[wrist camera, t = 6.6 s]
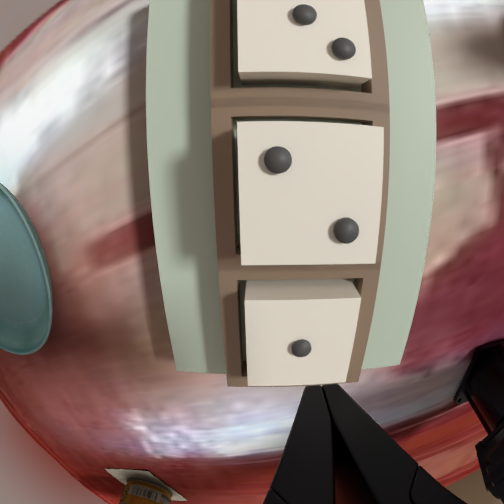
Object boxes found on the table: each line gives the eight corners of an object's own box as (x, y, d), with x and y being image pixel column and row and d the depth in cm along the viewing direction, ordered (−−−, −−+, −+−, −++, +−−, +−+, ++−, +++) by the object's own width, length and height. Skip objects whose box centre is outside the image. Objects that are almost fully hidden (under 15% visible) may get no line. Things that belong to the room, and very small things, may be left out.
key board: (389, 346, 19) (406, 378, 16) (183, 351, 19) (171, 386, 16) (407, 6, 11) (433, -14, 8) (162, -2, 12) (142, -28, 9)
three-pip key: (353, 88, 12) (373, 77, 9) (242, 84, 12) (237, 71, 10) (346, -2, 10) (361, -26, 8) (240, -7, 10) (236, -34, 8)
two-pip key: (356, 242, 13) (377, 265, 11) (244, 243, 13) (240, 267, 11) (361, 129, 12) (386, 126, 9) (242, 126, 12) (236, 120, 9)
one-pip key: (336, 353, 17) (346, 384, 14) (249, 355, 17) (247, 388, 14) (347, 274, 15) (362, 299, 12) (247, 275, 15) (244, 302, 13)
